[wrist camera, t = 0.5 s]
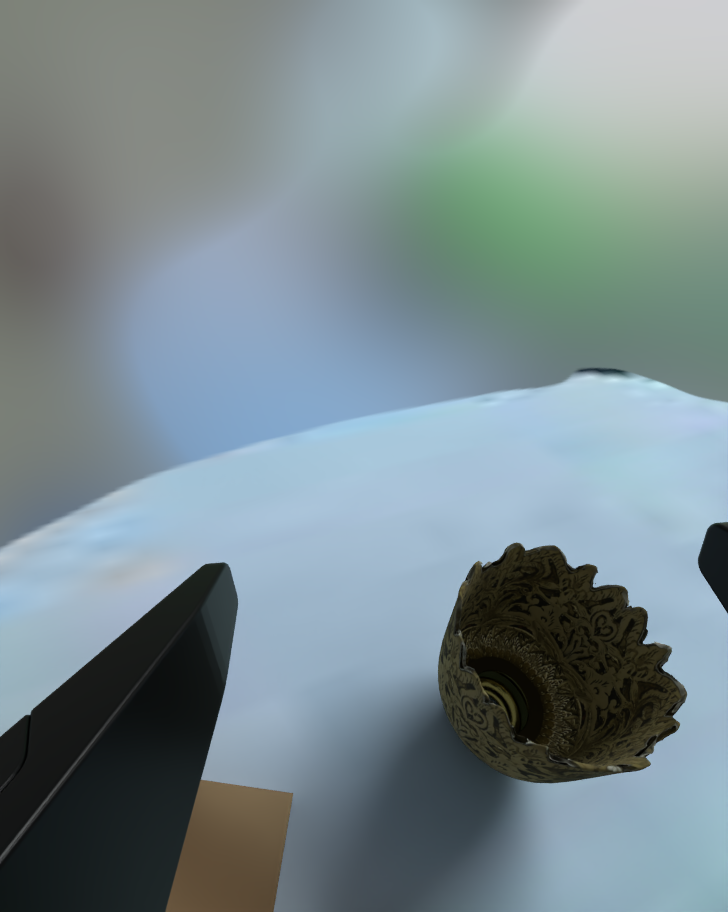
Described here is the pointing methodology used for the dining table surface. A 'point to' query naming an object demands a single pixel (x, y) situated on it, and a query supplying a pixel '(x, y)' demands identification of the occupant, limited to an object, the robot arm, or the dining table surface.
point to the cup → (553, 671)
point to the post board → (231, 850)
